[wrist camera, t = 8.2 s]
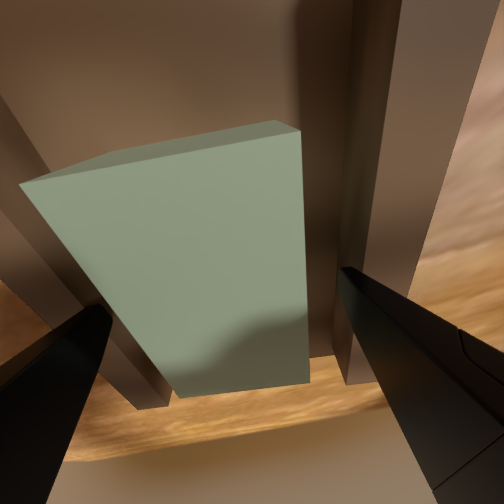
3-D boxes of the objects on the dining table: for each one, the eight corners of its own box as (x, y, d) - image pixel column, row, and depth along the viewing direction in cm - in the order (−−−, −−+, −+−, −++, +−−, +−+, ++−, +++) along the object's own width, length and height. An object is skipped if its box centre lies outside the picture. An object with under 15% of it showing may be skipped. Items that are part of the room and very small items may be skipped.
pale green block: (293, 312, 13) (310, 382, 10) (195, 326, 14) (179, 398, 10) (275, 119, 8) (301, 130, 4) (111, 151, 8) (18, 184, 5)
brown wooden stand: (368, 325, 17) (402, 386, 14) (147, 354, 18) (122, 418, 15) (456, -125, 6) (779, -471, 2) (-108, 15, 7) (-473, -78, 4)
